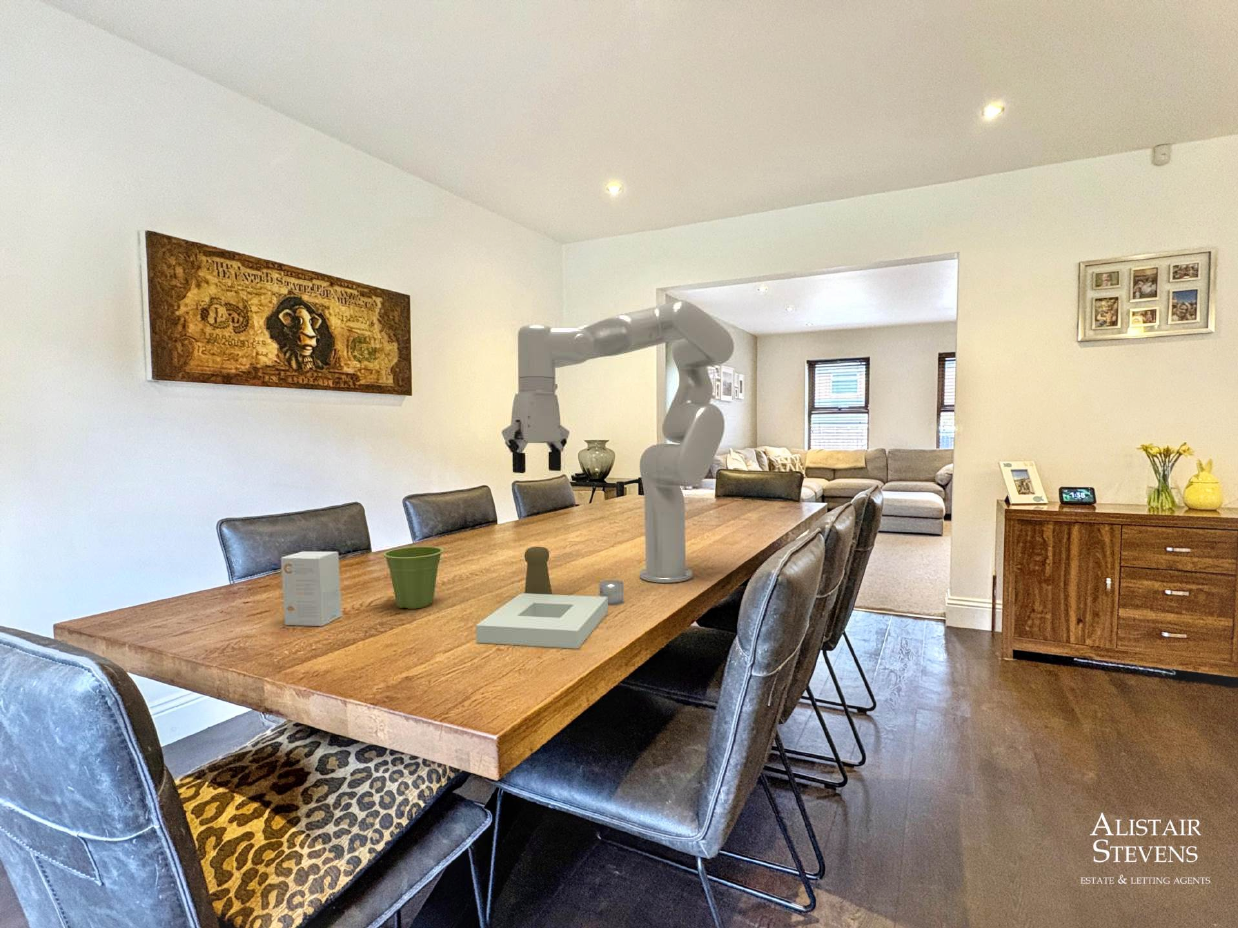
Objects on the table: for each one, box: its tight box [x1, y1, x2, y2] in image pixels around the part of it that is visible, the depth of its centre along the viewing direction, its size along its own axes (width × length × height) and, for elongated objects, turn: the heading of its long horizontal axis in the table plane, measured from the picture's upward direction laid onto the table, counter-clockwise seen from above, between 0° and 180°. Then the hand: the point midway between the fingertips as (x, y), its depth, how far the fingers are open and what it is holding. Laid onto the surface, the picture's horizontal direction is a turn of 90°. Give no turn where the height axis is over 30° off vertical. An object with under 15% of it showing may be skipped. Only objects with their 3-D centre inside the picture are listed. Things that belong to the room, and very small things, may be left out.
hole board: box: [475, 592, 609, 650], centre depth 112 cm, size 20×18×3 cm
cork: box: [524, 546, 553, 595], centre depth 130 cm, size 6×6×11 cm
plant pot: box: [382, 545, 444, 610], centre depth 128 cm, size 12×12×11 cm
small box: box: [280, 551, 343, 627], centre depth 118 cm, size 8×6×13 cm
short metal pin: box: [598, 579, 625, 606], centre depth 127 cm, size 5×5×4 cm
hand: (537, 471), depth 126 cm, fingers open, 9 cm apart
